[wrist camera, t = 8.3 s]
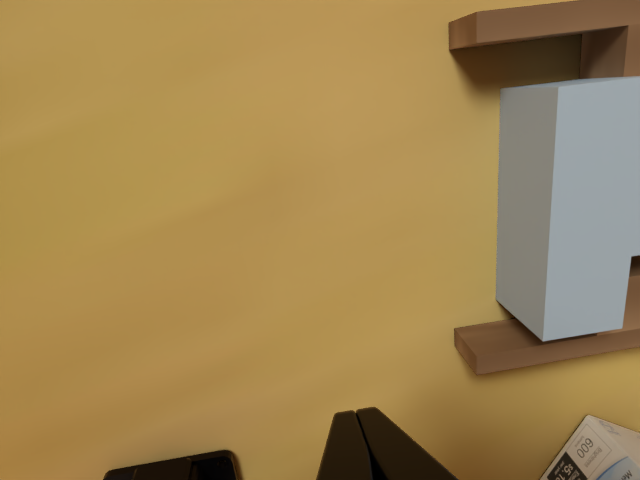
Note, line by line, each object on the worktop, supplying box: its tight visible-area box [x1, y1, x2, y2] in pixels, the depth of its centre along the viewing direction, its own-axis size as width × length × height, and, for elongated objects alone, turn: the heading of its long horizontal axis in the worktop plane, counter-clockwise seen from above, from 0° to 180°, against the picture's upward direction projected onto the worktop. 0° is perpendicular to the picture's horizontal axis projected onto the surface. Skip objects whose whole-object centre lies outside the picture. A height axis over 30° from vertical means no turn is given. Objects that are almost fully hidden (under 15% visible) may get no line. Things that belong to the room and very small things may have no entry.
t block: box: [496, 76, 640, 341], centre depth 19 cm, size 10×10×4 cm
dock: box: [449, 0, 640, 375], centre depth 19 cm, size 15×15×2 cm
